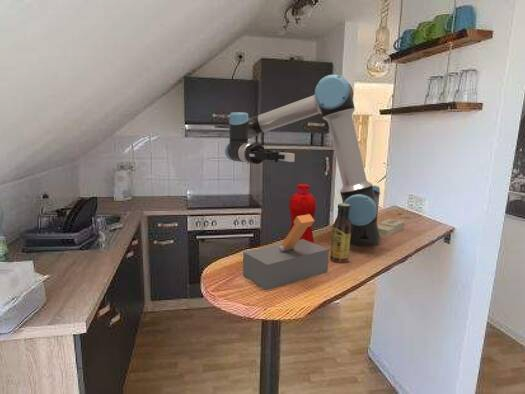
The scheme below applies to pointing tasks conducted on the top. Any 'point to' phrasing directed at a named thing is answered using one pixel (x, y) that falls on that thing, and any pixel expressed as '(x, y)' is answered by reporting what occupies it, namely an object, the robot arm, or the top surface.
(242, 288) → the top surface
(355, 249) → the top surface
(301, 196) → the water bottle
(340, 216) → the sauce bottle
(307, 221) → the lever
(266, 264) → the breaker box
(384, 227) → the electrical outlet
